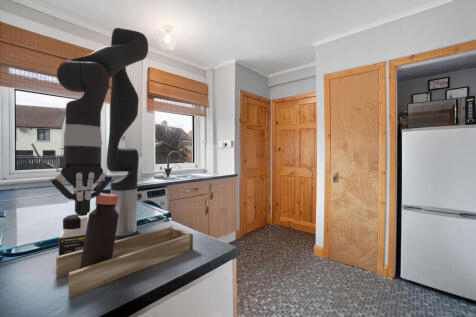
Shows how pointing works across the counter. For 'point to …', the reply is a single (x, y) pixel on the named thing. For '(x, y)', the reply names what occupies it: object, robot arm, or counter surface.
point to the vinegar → (100, 231)
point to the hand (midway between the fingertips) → (82, 215)
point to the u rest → (124, 258)
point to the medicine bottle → (73, 234)
